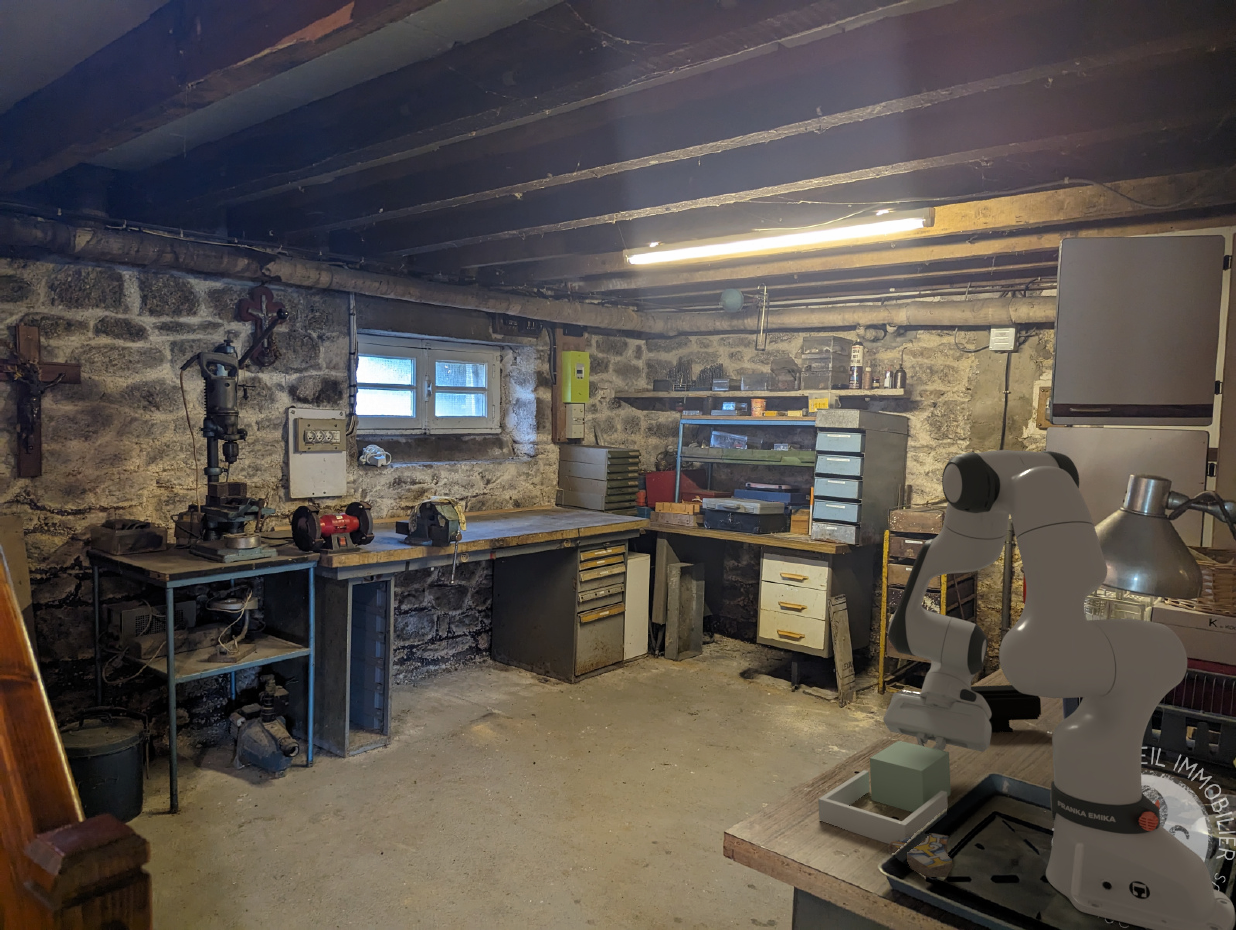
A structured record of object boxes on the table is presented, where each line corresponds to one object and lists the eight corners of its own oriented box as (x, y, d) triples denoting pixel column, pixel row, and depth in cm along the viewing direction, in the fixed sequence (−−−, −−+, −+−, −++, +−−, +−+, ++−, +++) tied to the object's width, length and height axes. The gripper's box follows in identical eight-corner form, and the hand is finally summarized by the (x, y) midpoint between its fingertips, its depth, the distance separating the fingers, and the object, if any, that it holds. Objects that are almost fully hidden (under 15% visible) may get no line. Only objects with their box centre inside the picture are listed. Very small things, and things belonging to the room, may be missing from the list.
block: (950, 794, 146) (949, 752, 146) (923, 815, 138) (921, 770, 138) (900, 780, 153) (898, 740, 153) (871, 800, 145) (869, 757, 145)
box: (948, 814, 138) (946, 791, 138) (906, 849, 126) (905, 825, 126) (864, 790, 149) (864, 769, 149) (819, 821, 137) (818, 798, 137)
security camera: (951, 727, 183) (949, 685, 183) (1030, 724, 182) (1028, 682, 182) (963, 737, 176) (961, 693, 176) (1045, 734, 175) (1043, 691, 175)
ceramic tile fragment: (965, 866, 114) (895, 863, 116) (966, 889, 114) (896, 885, 116) (946, 830, 126) (882, 827, 128) (947, 850, 126) (883, 847, 128)
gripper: (890, 680, 163) (870, 739, 156) (991, 697, 149) (974, 763, 142) (900, 696, 166) (881, 754, 159) (1000, 714, 152) (984, 779, 145)
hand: (925, 759), depth 150 cm, fingers closed
